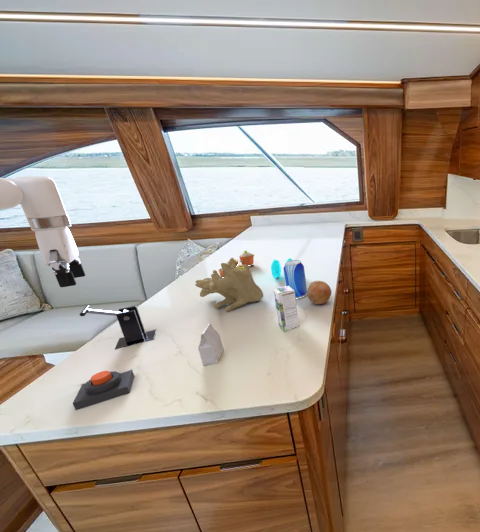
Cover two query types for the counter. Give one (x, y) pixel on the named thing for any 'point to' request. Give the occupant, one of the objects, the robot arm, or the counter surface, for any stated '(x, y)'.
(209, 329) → the pale grey crystal
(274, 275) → the cyan lobed shape
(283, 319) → the syrup box
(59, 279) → the robot arm
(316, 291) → the coconut
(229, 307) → the decorative coral
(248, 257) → the toy tea set
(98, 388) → the control block
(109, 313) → the lever
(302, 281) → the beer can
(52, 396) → the counter surface
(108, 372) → the button
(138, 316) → the bracket
